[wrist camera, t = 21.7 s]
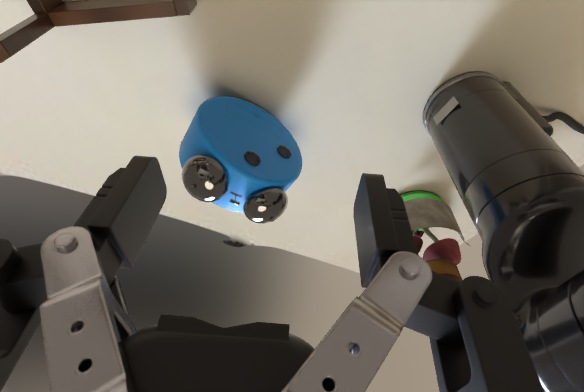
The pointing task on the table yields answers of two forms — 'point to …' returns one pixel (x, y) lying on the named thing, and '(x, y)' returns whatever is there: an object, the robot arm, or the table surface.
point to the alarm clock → (239, 158)
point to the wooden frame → (84, 17)
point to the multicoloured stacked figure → (425, 214)
